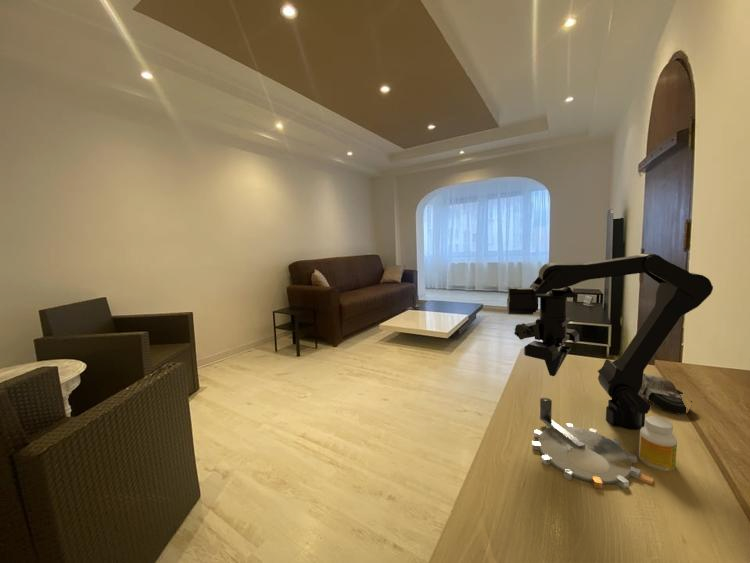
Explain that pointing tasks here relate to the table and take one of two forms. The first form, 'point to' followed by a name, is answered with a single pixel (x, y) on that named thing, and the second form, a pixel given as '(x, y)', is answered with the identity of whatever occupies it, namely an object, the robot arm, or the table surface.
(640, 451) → the supplement bottle
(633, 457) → the sprocket
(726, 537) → the table surface
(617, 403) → the robot arm
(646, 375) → the caster wheel
